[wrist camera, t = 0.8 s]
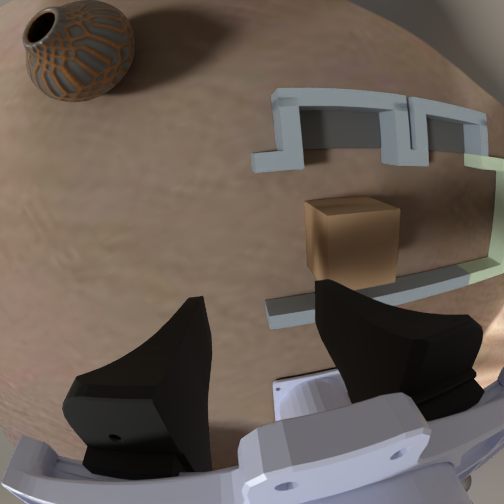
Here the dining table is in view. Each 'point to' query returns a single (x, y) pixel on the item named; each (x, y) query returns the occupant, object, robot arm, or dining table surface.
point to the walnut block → (352, 240)
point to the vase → (78, 50)
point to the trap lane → (392, 152)
